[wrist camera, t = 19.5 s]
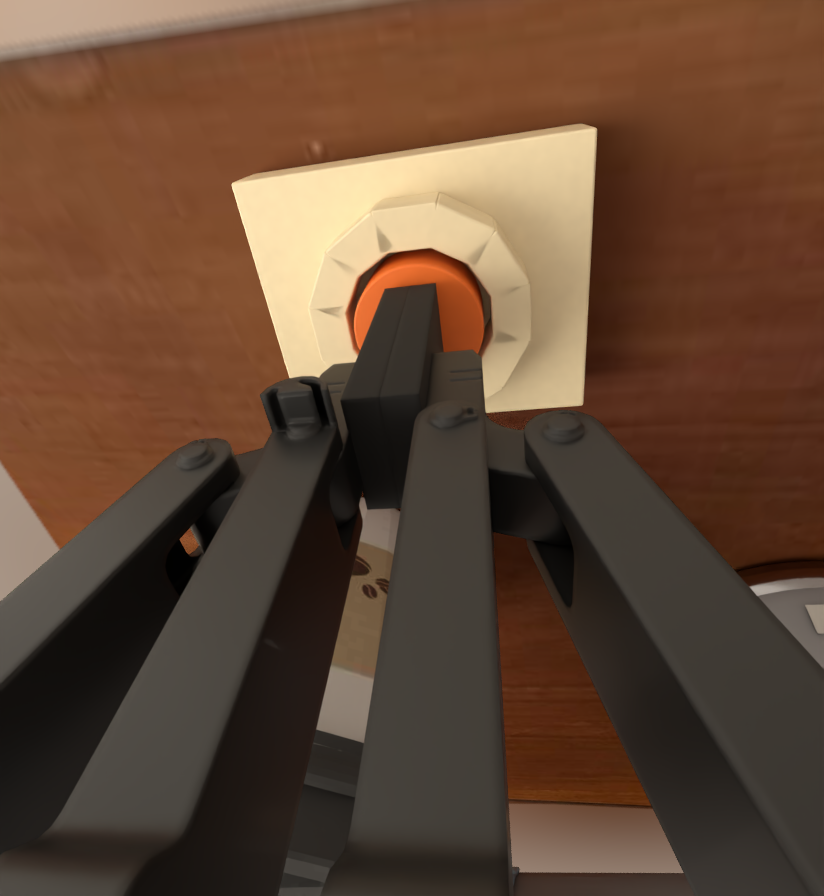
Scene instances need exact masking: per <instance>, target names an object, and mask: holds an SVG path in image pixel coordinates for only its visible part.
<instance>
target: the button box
mask: <svg viewBox="0 0 824 896" xmlns="http://www.w3.org/2000/svg"><path fill="white" fill-rule="evenodd" d="M596 148H597V128H595V127H591V126H588V125H585V124H574V125H568V126H561V127H555V128H548V129H542V130H535V131H529V132H522V133H516V134H509V135H503V136H496V137H490V138H484V139H477V140H471V141H464V142H458V143H451V144H445V145H438V146H432V147H425V148H419V149H412V150H406V151H399V152H393V153H386V154H380V155H373V156H367V157H360V158H354V159H347V160H341V161H334V162H328V163H321V164H315V165H309V166H302V167H296V168H289V169H283V170H276V171H270V172H263V173H257V174H253V175H251V176H248V177H246V178H243V179H241V180H238V181H236V182H233V183H232V188H233V192H234V195H235V198H236V202H237V205H238V208H239V212H240V215H241V218H242V222H243V225H244V228H245V232H246V235H247V238H248V241H249V245H250V248H251V251H252V255H253V258H254V261H255V265H256V268H257V271H258V275H259V278H260V281H261V285H262V288H263V291H264V295H265V298H266V301H267V305H268V308H269V311H270V315H271V318H272V321H273V325H274V328H275V331H276V334H277V338H278V341H279V344H280V348H281V351H282V354H283V358H284V361H285V364H286V368H287V371H288V374H289V378H294V377H300V376H315V377H320V375H321V374H322V373H323V372H324V371H326V370H327V369H328V368H329V367H331V366H332V365H333V364H340V363H351V362H356V359H357V357H358V354H359V352H360V349H359V347H358V345H357V341H356V338H355V332H354V317H355V311H356V308H357V304H358V302H359V300H360V297H361V295H362V293H363V291H364V289H365V287H366V285H367V283H368V282H369V280H370V278H371V276H372V274H373V273H374V271H375V270H376V269H377V268H378V266H379V265H380V264H381V263H382V262H383V261H385V260H386V259H387V258H389V257H390V256H392V255H393V254H395V253H397V252H402V251H410V250H418V249H426V248H432V249H434V250H437V251H439V252H441V253H443V254H446V255H448V256H450V257H452V258H455V259H457V260H459V261H461V262H463V263H464V264H465V265H466V266H467V267H468V269H469V270H470V271H471V272H472V274H473V275H474V277H475V279H476V281H477V283H478V285H479V288H480V291H481V295H482V303H483V316H484V336H483V341H482V345H481V348H480V350H479V353H478V355H479V356H480V357H481V358H482V369H483V383H484V397H485V411H486V413H490V412H503V411H516V410H529V409H543V408H556V407H569V406H581V405H583V402H584V383H585V363H586V344H587V324H588V305H589V285H590V265H591V246H592V226H593V207H594V187H595V168H596Z"/></svg>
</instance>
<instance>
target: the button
mask: <svg viewBox="0 0 824 896" xmlns="http://www.w3.org/2000/svg"><path fill="white" fill-rule="evenodd" d="M431 283H436V288H437V297H438V306H439V315H440V324H441V332H442V341H443V350H444V352H451V351H462V350H472V349H473V350H474V351H475V352H476V353H477V354H478V353H479V350H480V348H481V345H482V341H483V336H484V316H483V303H482V295H481V291H480V288H479V285H478V283H477V281H476V279H475V277H474V275H473V274H472V272H471V271H470V270H469V269H468V267H467V266H466V265H465V264H464V263H463V262H461V261H459V260H457V259H455V258H452V257H450V256H448V255H446V254H443V253H441V252H439V251H437V250H434V249H432V248H426V249H418V250H410V251H402V252H397V253H395V254H393V255H392V256H390V257H389V258H387V259H386V260H385V261H383V262H382V263H381V264H380V265H379V266H378V268H377V269H376V270H375V271H374V273H373V274H372V276H371V278H370V280H369V282H368V283H367V285H366V287H365V289H364V291H363V293H362V295H361V297H360V300H359V302H358V304H357V308H356V311H355V317H354V332H355V338H356V341H357V345H358V347H359V349H361V347H362V344H363V342H364V339H365V337H366V334H367V332H368V329H369V327H370V324H371V322H372V319H373V317H374V314H375V312H376V309H377V307H378V304H379V302H380V299H381V297H382V294H383V292H384V289H387V288H396V287H404V286H413V285H422V284H431Z"/></svg>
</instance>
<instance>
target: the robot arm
mask: <svg viewBox="0 0 824 896" xmlns="http://www.w3.org/2000/svg"><path fill="white" fill-rule="evenodd" d="M260 397H261V400H262V403H263V406H264V409H265V412H266V414H267V417H268V420H269V423H270V426H271V429H272V433H271V435H270V437H269V439H268V441H267V442H266V444H265V446H264V448H261V449H258V450H254V451H250V452H246V453H243V454H239V455H234V453H233V450H232V448H231V445H230V444H229V443H228V442H227V441H226V440H222V439H218V438H215V439H200V440H199V441H197V440H196V441H193V442H190V443H188V444H187V445H185V446H183V447H181V448H179V449H177V450H176V451H174V452H173V453H172V454H170V455H169V456H168V457H166V458H165V459H164V460H163V461H162V462H161V463H160V464H158V465H157V466H156V467H155V468H154V469H153V470H151V471H150V472H149V473H148V474H147V475H146V476H145V477H143V478H142V479H141V480H140V481H139V482H138V483H136V484H135V485H134V486H133V487H132V488H131V489H130V490H128V491H127V492H126V493H125V494H124V495H123V496H121V497H120V498H119V499H118V500H117V501H116V502H114V503H113V504H112V505H111V506H110V507H109V508H108V509H106V510H105V511H104V512H103V513H102V514H101V515H99V516H98V517H97V518H96V519H95V520H94V521H93V522H91V523H90V524H89V525H88V526H87V527H86V528H84V529H83V530H82V531H81V532H80V533H79V534H78V535H76V536H75V537H74V538H73V539H72V540H71V541H69V542H68V543H67V544H66V545H65V546H64V547H63V548H61V549H60V550H59V551H58V552H57V553H56V554H54V555H53V556H52V557H51V558H50V559H49V560H48V561H47V562H45V563H44V564H43V565H42V566H41V567H39V568H38V570H36V571H35V572H34V573H33V574H31V575H30V576H29V577H28V578H27V579H26V580H24V582H22V583H21V584H20V585H19V586H18V587H17V588H15V589H14V590H13V591H12V592H11V593H9V594H8V595H7V596H6V597H5V598H4V599H3V600H2V601H0V896H278V893H279V889H280V885H281V880H282V876H283V872H284V867H285V863H286V859H287V854H288V850H289V846H290V841H291V837H292V832H293V828H294V824H295V819H296V815H297V811H298V806H299V802H300V798H301V793H302V789H303V785H304V780H305V776H306V772H307V767H308V763H309V759H310V754H311V750H312V745H313V741H314V737H315V732H316V728H317V724H318V719H319V715H320V711H321V706H322V702H323V698H324V693H325V689H326V685H327V680H328V676H329V672H330V667H331V663H332V658H333V654H334V650H335V645H336V641H337V637H338V632H339V628H340V624H341V619H342V615H343V611H344V606H345V602H346V598H347V593H348V589H349V585H350V580H351V576H352V572H353V567H354V563H355V558H356V554H357V550H358V545H359V541H360V537H361V532H362V528H363V519H362V515H361V511H360V507H359V503H360V499H361V495H362V491H363V495H364V499H365V503H366V507H367V510H372V509H392V508H401V511H400V517H399V524H398V530H397V536H396V542H395V549H394V555H393V561H392V568H391V574H390V580H389V587H388V593H387V599H386V606H385V612H384V618H383V625H382V631H381V637H380V644H379V650H378V656H377V663H376V669H375V675H374V682H373V688H372V694H371V701H370V707H369V713H368V720H367V726H366V732H365V739H364V745H363V751H362V758H361V764H360V770H359V777H358V783H357V789H356V796H355V802H354V808H353V815H352V821H351V826H350V831H349V836H348V840H347V843H346V846H345V849H344V851H343V853H342V855H341V856H340V857H339V858H338V860H337V861H336V862H335V863H334V865H333V866H332V867H331V868H330V870H329V873H328V875H327V878H326V881H325V884H324V886H323V889H322V892H321V894H320V896H824V562H821V561H807V562H789V563H779V564H772V565H766V566H760V567H756V568H751V569H746V570H743V571H739V572H735V571H734V569H733V568H732V567H731V566H730V565H729V564H728V563H727V562H726V561H725V560H724V558H723V557H722V556H721V555H720V554H719V553H718V552H717V551H716V550H715V548H714V547H713V546H712V545H711V544H710V543H709V542H708V541H707V540H706V539H705V537H704V536H703V535H702V534H701V533H700V532H699V531H698V530H697V529H696V528H695V526H694V525H693V524H692V523H691V522H690V521H689V520H688V519H687V518H686V516H685V515H684V514H683V513H682V512H681V511H680V510H679V509H678V508H677V507H676V505H675V504H674V503H673V502H672V501H671V500H670V499H669V498H668V497H667V495H666V494H665V493H664V492H663V491H662V490H661V489H660V488H659V487H658V486H657V484H656V483H655V482H654V481H653V480H652V479H651V478H650V477H649V476H648V475H647V473H646V472H645V471H644V470H643V469H642V468H641V467H640V466H639V465H638V463H637V462H636V461H635V460H634V459H633V458H632V457H631V456H630V455H629V454H628V452H627V451H626V450H625V449H624V448H623V447H622V446H621V445H620V444H619V442H618V441H617V440H616V439H615V438H614V437H613V436H612V435H611V434H610V433H609V431H608V430H607V429H606V428H605V427H604V426H603V425H602V424H601V423H600V422H599V421H598V420H596V419H595V418H593V417H592V416H590V415H587V414H584V413H581V412H577V411H571V410H570V411H568V410H559V411H550V412H546V413H543V414H540V415H537V416H535V417H534V418H533V419H531V420H530V421H528V422H527V424H526V426H525V428H524V430H516V429H511V428H506V427H503V426H500V425H498V424H496V423H494V422H493V421H491V420H490V419H489V418H488V417H487V415H486V411H485V397H484V383H483V369H482V358H481V357H480V356H479V355H478V354H477V353H476V352H475V351H474V350H473V349H472V350H462V351H451V352H444V350H443V341H442V332H441V324H440V315H439V306H438V297H437V288H436V283H431V284H422V285H413V286H404V287H396V288H387V289H384V292H383V294H382V297H381V299H380V302H379V304H378V307H377V309H376V312H375V314H374V317H373V319H372V322H371V324H370V327H369V329H368V332H367V334H366V337H365V339H364V342H363V344H362V347H361V349H360V352H359V354H358V357H357V359H356V362H351V363H340V364H333V365H332V366H331V367H329V368H328V369H327V370H326V371H324V372H323V373H322V374H321V375H320V377H315V376H300V377H294V378H289V379H286V380H283V381H280V382H277V383H275V384H274V385H272V386H270V387H268V388H267V389H266V390H265V391H264V392H263V393H261V394H260ZM189 528H190V529H191V531H192V533H193V535H194V537H195V539H196V541H197V542H198V544H199V546H198V548H197V549H196V550H195V551H193V552H192V553H191V554H188V553H186V551H185V549H184V547H183V546H182V544H181V542H180V540H179V539H180V538H181V537H182V536H183V535H184V534H185V532H186V531H187V530H188V529H189ZM493 532H496V533H501V534H505V535H510V536H515V537H520V538H525V539H526V540H527V545H528V549H529V551H530V553H531V555H532V557H533V559H534V561H535V564H536V566H537V568H538V570H539V572H540V574H541V576H542V578H543V580H544V582H545V584H546V587H547V589H548V591H549V593H550V595H551V597H552V599H553V601H554V603H555V605H556V607H557V609H558V612H559V614H560V616H561V618H562V620H563V622H564V624H565V626H566V628H567V630H568V632H569V634H570V637H571V639H572V641H573V643H574V645H575V647H576V649H577V651H578V653H579V655H580V657H581V659H582V662H583V664H584V666H585V668H586V670H587V672H588V674H589V676H590V678H591V680H592V682H593V685H594V687H595V689H596V691H597V693H598V695H599V697H600V699H601V701H602V703H603V705H604V707H605V710H606V712H607V714H608V716H609V718H610V720H611V722H612V724H613V726H614V728H615V730H616V732H617V735H618V737H619V739H620V741H621V743H622V745H623V747H624V749H625V751H626V753H627V755H628V758H629V760H630V762H631V764H632V766H633V768H634V770H635V772H636V774H637V776H638V778H639V780H640V783H641V785H642V787H643V789H644V791H645V793H646V795H647V797H648V799H649V801H650V803H651V805H652V808H653V810H654V812H655V814H656V816H657V818H658V820H659V822H660V824H661V826H662V828H663V830H664V832H665V835H666V837H667V839H668V841H669V843H670V845H671V847H672V849H673V851H674V853H675V856H676V858H677V860H678V862H679V864H680V866H681V868H682V870H683V872H684V873H519V867H512V857H511V839H510V821H509V803H508V785H507V768H506V750H505V733H504V715H503V698H502V680H501V663H500V645H499V628H498V610H497V593H496V575H495V558H494V536H493Z"/></svg>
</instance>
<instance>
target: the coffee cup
mask: <svg viewBox="0 0 824 896" xmlns="http://www.w3.org/2000/svg"><path fill="white" fill-rule="evenodd" d="M359 507H360V511H361V515H362V519H363V528H362V532H361V537H360V541H359V545H358V550H357V554H356V558H355V563H354V567H353V572H352V576H351V580H350V585H349V589H348V593H347V598H346V602H345V606H344V611H343V615H342V619H341V624H340V628H339V632H338V637H337V641H336V645H335V650H334V654H333V658H332V663H331V667H330V672H329V676H328V680H327V685H326V689H325V693H324V698H323V702H322V706H321V711H320V715H319V719H318V724H317V728H316V732H315V737H314V741H313V745H312V750H311V754H310V759H309V763H308V767H307V772H306V776H305V780H304V785H303V789H302V793H301V798H300V802H299V806H298V811H297V815H296V819H295V824H294V828H293V832H292V837H291V841H290V846H289V850H288V854H287V859H286V863H285V867H284V872H283V876H282V880H281V885H280V889H279V893H278V896H320V894H321V892H322V889H323V886H324V884H325V881H326V878H327V875H328V873H329V870H330V868H331V867H332V866H333V865H334V863H335V862H336V861H337V860H338V858H339V857H340V856H341V855H342V853H343V851H344V849H345V846H346V843H347V840H348V836H349V831H350V826H351V821H352V815H353V808H354V802H355V796H356V789H357V783H358V777H359V770H360V764H361V758H362V751H363V745H364V739H365V732H366V726H367V720H368V713H369V707H370V701H371V694H372V688H373V682H374V675H375V669H376V663H377V656H378V650H379V644H380V637H381V631H382V625H383V618H384V612H385V606H386V599H387V593H388V587H389V580H390V574H391V568H392V561H393V555H394V549H395V542H396V536H397V530H398V524H399V517H400V512H399V511H398V510H396V509H395V508H392V509H372V510H367V507H366V503H365V499H364V498H363V497H361V499H360V503H359Z"/></svg>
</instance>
